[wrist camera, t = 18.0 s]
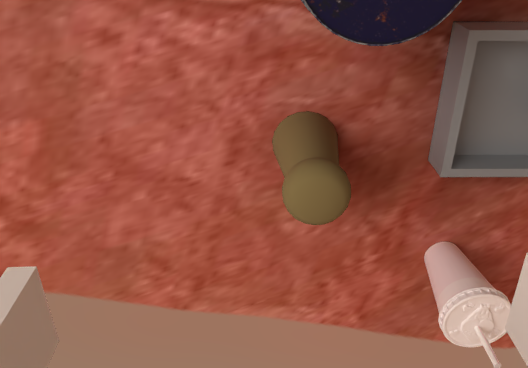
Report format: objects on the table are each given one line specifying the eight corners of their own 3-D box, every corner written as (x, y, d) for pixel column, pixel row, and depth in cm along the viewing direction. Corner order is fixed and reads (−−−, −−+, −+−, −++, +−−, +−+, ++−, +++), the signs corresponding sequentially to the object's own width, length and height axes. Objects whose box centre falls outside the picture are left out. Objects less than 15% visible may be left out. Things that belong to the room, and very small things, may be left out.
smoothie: (405, 278, 53) (450, 386, 41) (419, 228, 50) (472, 329, 38) (463, 281, 54) (525, 390, 42) (480, 232, 51) (552, 333, 38)
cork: (348, 124, 45) (375, 181, 35) (321, 179, 48) (338, 247, 38) (287, 101, 44) (297, 154, 34) (262, 159, 46) (265, 223, 37)
